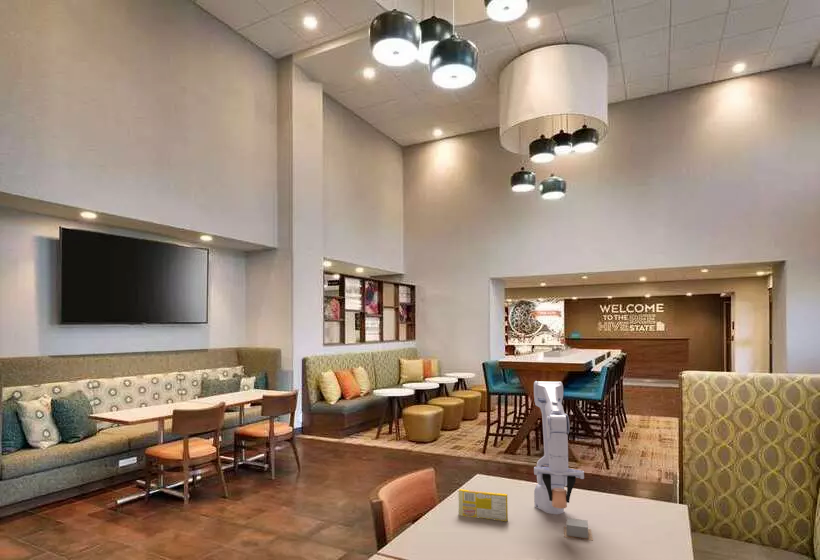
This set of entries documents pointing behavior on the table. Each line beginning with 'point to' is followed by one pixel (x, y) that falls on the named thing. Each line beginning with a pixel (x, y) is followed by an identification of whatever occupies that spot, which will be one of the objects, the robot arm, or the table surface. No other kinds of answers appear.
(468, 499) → the candy box
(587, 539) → the tower base
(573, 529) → the tower block
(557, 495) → the clay cylinder
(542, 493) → the robot arm
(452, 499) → the table surface
